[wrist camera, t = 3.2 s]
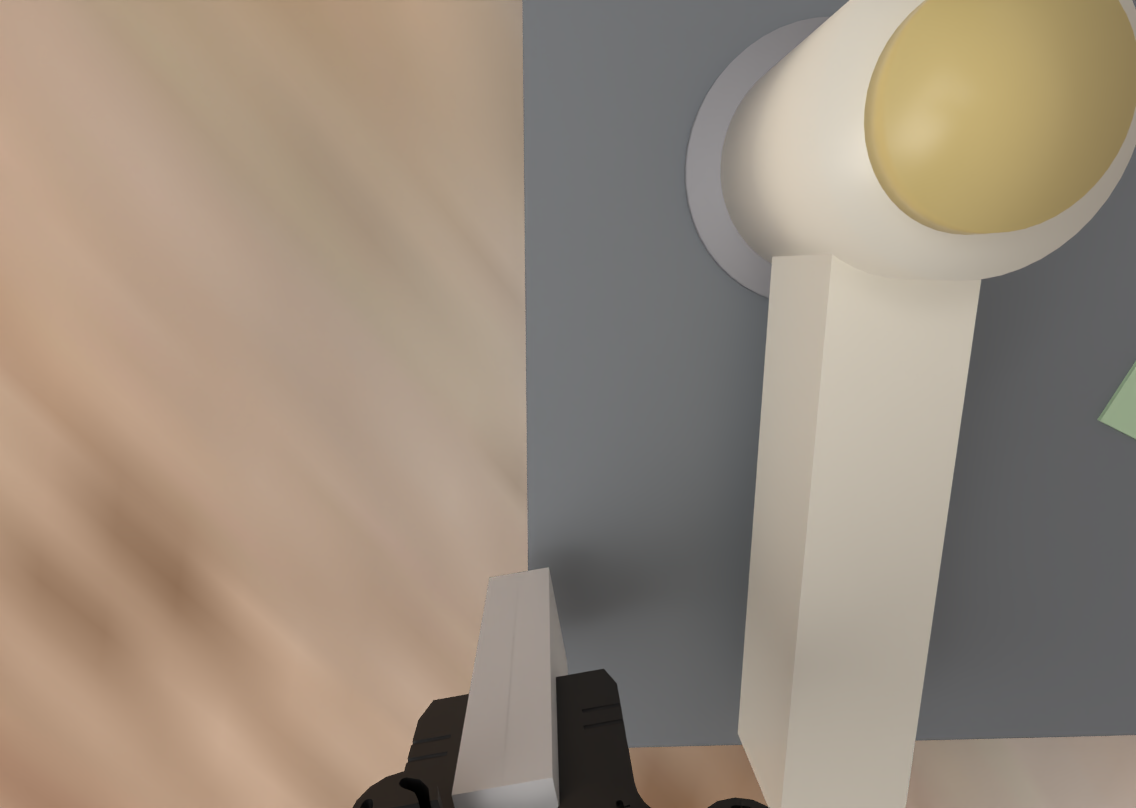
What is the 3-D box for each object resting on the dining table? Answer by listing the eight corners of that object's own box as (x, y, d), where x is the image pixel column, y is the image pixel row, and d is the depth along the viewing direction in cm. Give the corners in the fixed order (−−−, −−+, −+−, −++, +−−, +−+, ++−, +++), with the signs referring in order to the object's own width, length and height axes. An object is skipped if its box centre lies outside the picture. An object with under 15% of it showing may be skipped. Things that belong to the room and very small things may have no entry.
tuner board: (522, -199, 14) (519, -253, 13) (1596, -164, 15) (1709, -210, 14) (530, 720, 19) (529, 757, 18) (1333, 702, 20) (1394, 736, 19)
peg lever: (726, 43, 14) (855, -113, 8) (948, 48, 14) (1226, -103, 8) (687, 782, 18) (754, 1022, 12) (858, 778, 18) (1003, 1011, 12)
